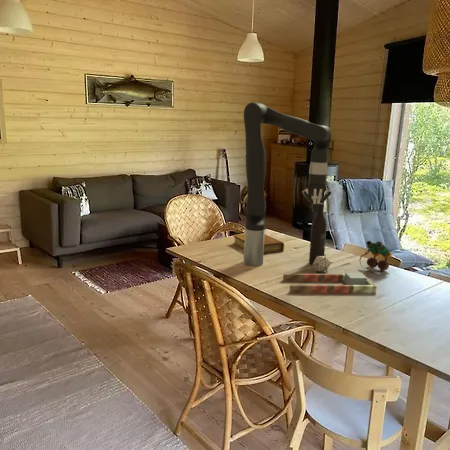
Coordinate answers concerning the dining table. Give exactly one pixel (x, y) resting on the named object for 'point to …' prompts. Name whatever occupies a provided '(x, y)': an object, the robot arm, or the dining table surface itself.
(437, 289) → the dining table surface
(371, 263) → the wheeled frog toy
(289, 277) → the tray
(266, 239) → the diary
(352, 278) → the slate block
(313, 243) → the wine bottle
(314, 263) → the game die
